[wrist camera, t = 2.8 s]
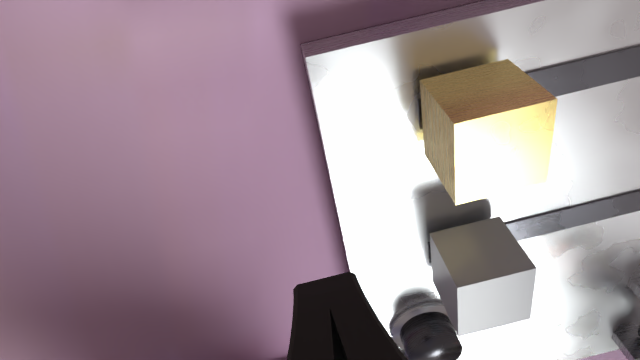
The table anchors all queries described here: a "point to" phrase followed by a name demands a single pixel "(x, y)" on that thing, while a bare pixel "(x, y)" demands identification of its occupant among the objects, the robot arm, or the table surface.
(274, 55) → the table surface
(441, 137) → the slider brass
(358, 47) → the panel
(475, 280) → the slider grey
